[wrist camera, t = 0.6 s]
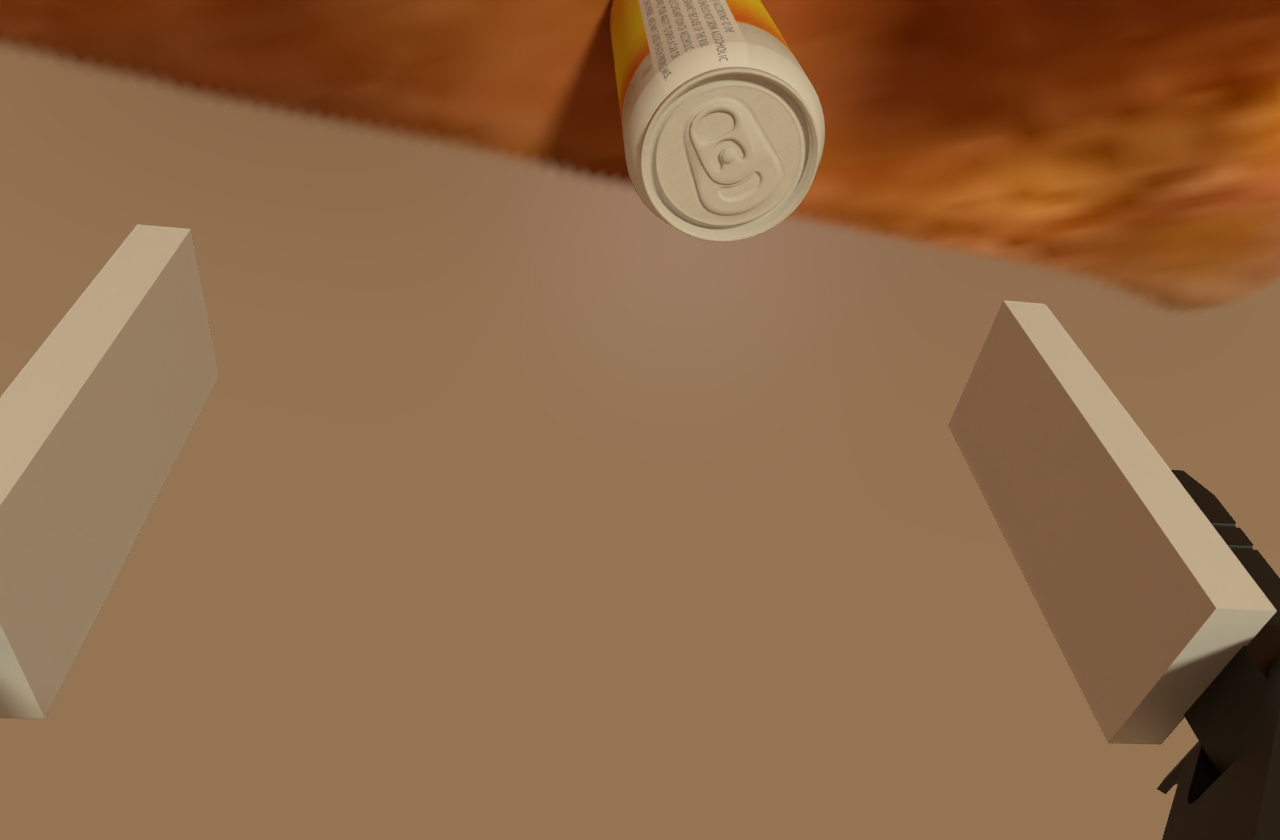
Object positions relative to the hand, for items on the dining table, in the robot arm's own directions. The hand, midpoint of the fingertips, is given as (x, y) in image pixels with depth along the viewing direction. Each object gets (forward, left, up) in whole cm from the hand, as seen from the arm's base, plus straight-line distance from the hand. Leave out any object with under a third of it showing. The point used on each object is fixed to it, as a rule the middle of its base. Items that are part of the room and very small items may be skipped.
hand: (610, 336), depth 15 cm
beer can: (+2, +4, -28) cm, 28 cm away
